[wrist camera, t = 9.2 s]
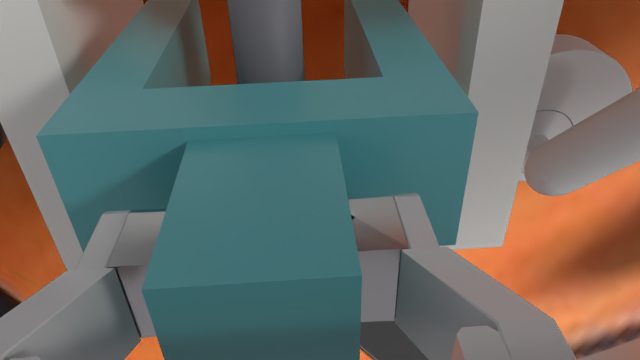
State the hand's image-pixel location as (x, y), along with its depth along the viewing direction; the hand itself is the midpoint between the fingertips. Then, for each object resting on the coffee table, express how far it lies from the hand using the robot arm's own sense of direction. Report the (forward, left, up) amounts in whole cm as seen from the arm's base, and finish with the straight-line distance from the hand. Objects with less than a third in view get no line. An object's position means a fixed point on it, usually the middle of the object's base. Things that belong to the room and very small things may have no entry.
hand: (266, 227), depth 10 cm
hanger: (0, 0, -12) cm, 12 cm away
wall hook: (-16, +7, -20) cm, 26 cm away
